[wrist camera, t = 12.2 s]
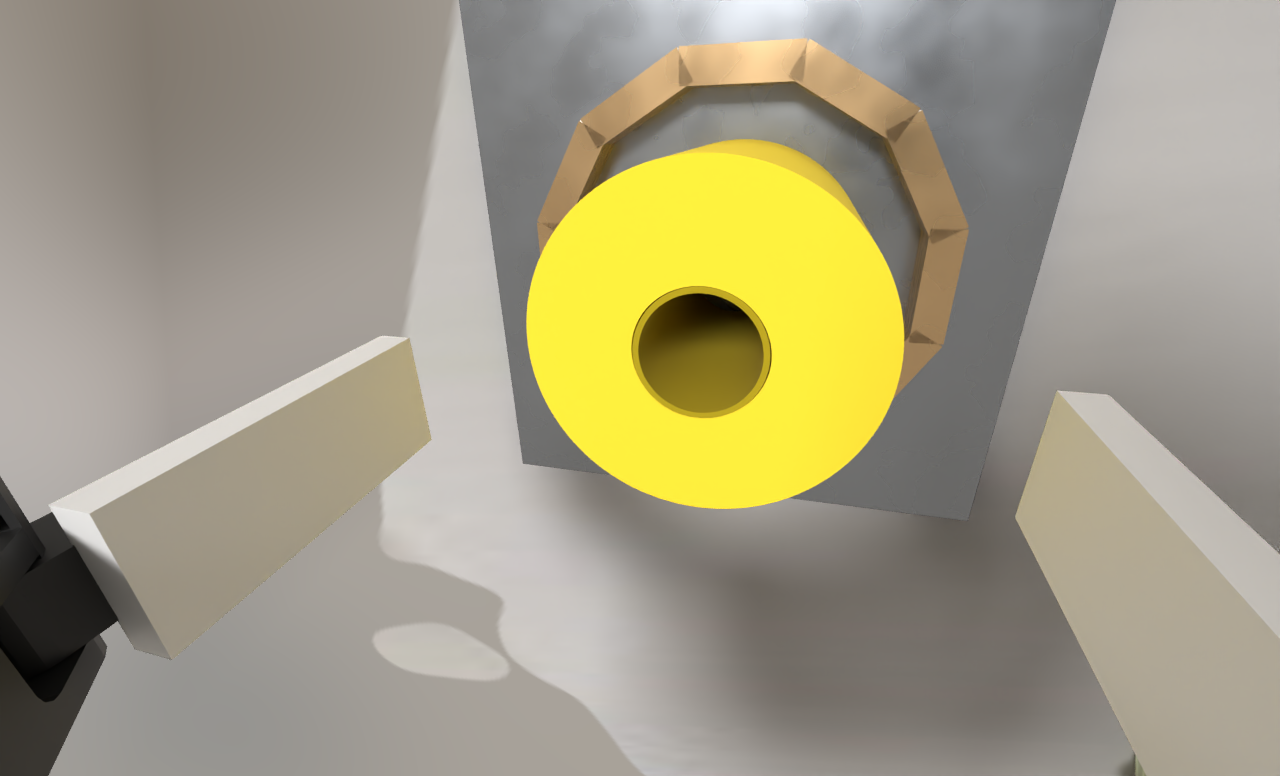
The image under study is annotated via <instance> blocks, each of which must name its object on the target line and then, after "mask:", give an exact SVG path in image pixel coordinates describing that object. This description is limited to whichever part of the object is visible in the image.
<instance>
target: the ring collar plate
mask: <svg viewBox="0 0 1280 776" xmlns="http://www.w3.org/2000/svg"><path fill="white" fill-rule="evenodd" d="M1115 2H1116V0H459V4H460V11H461V18H462V26H463V33H464V40H465V47H466V55H467V62H468V69H469V76H470V83H471V91H472V98H473V105H474V112H475V120H476V127H477V134H478V141H479V148H480V156H481V163H482V170H483V177H484V185H485V192H486V199H487V206H488V214H489V221H490V228H491V235H492V242H493V250H494V257H495V264H496V271H497V279H498V286H499V293H500V300H501V307H502V315H503V322H504V329H505V336H506V344H507V351H508V358H509V365H510V373H511V380H512V387H513V394H514V401H515V409H516V416H517V423H518V430H519V438H520V445H521V452H522V459H523V464H530V465H538V466H546V467H554V468H561V469H569V470H577V471H585V472H592V473H600V474H608V475H611V474H610V473H608V472H607V471H605V470H604V469H603V468H601V467H600V466H599V465H597V464H596V463H595V462H594V461H593V460H591V459H590V458H589V457H588V456H587V455H586V454H585V453H584V452H583V451H582V450H581V449H580V448H579V447H578V446H577V445H576V444H575V443H574V442H573V441H572V440H571V439H570V437H569V436H568V435H567V434H566V432H565V431H564V430H563V429H562V427H561V426H560V424H559V423H558V422H557V420H556V419H555V417H554V415H553V414H552V412H551V410H550V409H549V407H548V405H547V403H546V401H545V399H544V397H543V395H542V393H541V390H540V388H539V385H538V383H537V380H536V377H535V374H534V371H533V367H532V363H531V359H530V354H529V348H528V341H527V323H526V321H527V304H528V297H529V291H530V286H531V282H532V278H533V275H534V272H535V269H536V266H537V263H538V261H539V258H540V256H541V254H542V252H543V250H544V248H545V246H546V244H547V242H548V240H549V238H550V237H551V235H552V234H553V232H554V231H555V229H556V228H557V226H558V225H559V224H560V222H561V221H562V220H563V218H564V217H565V216H566V215H567V214H568V213H569V211H570V210H571V209H572V208H573V207H574V206H575V205H576V204H577V203H578V202H579V201H580V200H581V199H583V198H584V197H585V196H586V195H587V194H588V193H590V192H591V191H592V190H594V189H595V188H596V187H598V186H599V185H601V184H602V183H604V182H605V181H607V180H608V179H610V178H612V177H614V176H615V175H617V174H619V173H621V172H623V171H625V170H627V169H630V168H632V167H634V166H637V165H639V164H642V163H645V162H648V161H652V160H655V159H659V158H662V157H666V156H669V155H673V154H676V153H680V152H684V151H687V150H691V149H694V148H698V147H702V146H705V145H709V144H712V143H716V142H721V141H727V140H735V139H754V140H763V141H769V142H774V143H777V144H781V145H784V146H787V147H790V148H792V149H794V150H797V151H799V152H801V153H803V154H804V155H806V156H808V157H810V158H811V159H813V160H814V161H816V162H817V163H818V164H820V165H821V166H822V167H823V168H824V169H826V170H827V171H828V172H829V173H830V174H831V175H832V176H833V177H834V178H835V179H836V181H837V182H838V183H839V184H840V185H841V187H842V188H843V189H844V191H845V192H846V194H847V195H848V197H849V199H850V200H851V202H852V204H853V206H854V207H855V209H856V211H857V212H858V214H859V216H860V217H861V219H862V221H863V223H864V224H865V226H866V228H867V229H868V231H869V233H870V234H871V236H872V238H873V240H874V241H875V243H876V245H877V246H878V248H879V250H880V252H881V253H882V255H883V257H884V259H885V261H886V263H887V265H888V267H889V269H890V272H891V274H892V277H893V279H894V282H895V285H896V288H897V292H898V295H899V299H900V304H901V309H902V315H903V324H904V354H903V362H902V368H901V373H900V378H899V382H898V385H897V389H896V392H895V395H894V397H893V400H892V402H891V405H890V407H889V409H888V411H887V413H886V415H885V417H884V419H883V421H882V422H881V424H880V426H879V427H878V429H877V430H876V432H875V433H874V435H873V436H872V437H871V439H870V440H869V441H868V443H867V444H866V445H865V446H864V447H863V448H862V450H861V451H860V452H859V453H858V454H857V455H856V456H855V457H854V458H853V459H852V460H851V461H850V462H848V463H847V464H846V465H845V466H844V467H843V468H841V469H840V470H839V471H838V472H836V473H835V474H833V475H832V476H831V477H829V478H828V479H826V480H824V481H823V482H821V483H819V484H818V485H816V486H814V487H812V488H810V489H808V490H806V491H804V492H802V493H799V494H797V495H795V496H792V497H789V498H793V499H801V500H809V501H816V502H824V503H832V504H840V505H847V506H855V507H863V508H871V509H878V510H886V511H894V512H901V513H909V514H917V515H925V516H932V517H940V518H948V519H956V520H963V521H968V518H969V515H970V511H971V508H972V504H973V501H974V497H975V494H976V490H977V487H978V483H979V480H980V476H981V473H982V469H983V466H984V462H985V459H986V455H987V452H988V448H989V445H990V441H991V438H992V434H993V431H994V427H995V424H996V420H997V416H998V413H999V409H1000V406H1001V402H1002V399H1003V395H1004V392H1005V388H1006V385H1007V381H1008V378H1009V374H1010V371H1011V367H1012V364H1013V360H1014V357H1015V353H1016V350H1017V346H1018V343H1019V339H1020V336H1021V332H1022V329H1023V325H1024V322H1025V318H1026V315H1027V311H1028V308H1029V304H1030V301H1031V297H1032V294H1033V290H1034V287H1035V283H1036V280H1037V276H1038V273H1039V269H1040V265H1041V262H1042V258H1043V255H1044V251H1045V248H1046V244H1047V241H1048V237H1049V234H1050V230H1051V227H1052V223H1053V220H1054V216H1055V213H1056V209H1057V206H1058V202H1059V199H1060V195H1061V192H1062V188H1063V185H1064V181H1065V178H1066V174H1067V171H1068V167H1069V164H1070V160H1071V157H1072V153H1073V150H1074V146H1075V143H1076V139H1077V136H1078V132H1079V129H1080V125H1081V122H1082V118H1083V115H1084V111H1085V107H1086V104H1087V100H1088V97H1089V93H1090V90H1091V86H1092V83H1093V79H1094V76H1095V72H1096V69H1097V65H1098V62H1099V58H1100V55H1101V51H1102V48H1103V44H1104V41H1105V37H1106V34H1107V30H1108V27H1109V23H1110V20H1111V16H1112V13H1113V9H1114V6H1115ZM702 294H703V295H704V296H705V298H706V299H707V300H708V301H709V302H711V303H712V304H713V305H715V306H717V307H719V308H721V309H724V310H728V311H743V310H742V309H741V308H739V307H738V306H737V305H735V304H734V303H732V302H730V301H728V300H726V299H724V298H722V297H719V296H715V295H711V294H704V293H702Z"/></svg>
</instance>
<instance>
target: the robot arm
mask: <svg viewBox="0 0 1280 776" xmlns="http://www.w3.org/2000/svg"><path fill="white" fill-rule="evenodd" d="M430 440H431V435H430V431H429V426H428V421H427V417H426V412H425V408H424V403H423V399H422V394H421V389H420V385H419V380H418V376H417V371H416V367H415V362H414V357H413V353H412V348H411V344H410V339H409V338H404V337H391V336H380V337H378V338H376V339H374V340H372V341H370V342H368V343H366V344H364V345H362V346H360V347H358V348H357V349H354V350H352V351H351V352H349V353H347V354H345V355H343V356H341V357H339V358H337V359H335V360H333V361H331V362H329V363H327V364H325V365H323V366H321V367H319V368H317V369H315V370H313V371H311V372H309V373H307V374H305V375H303V376H301V377H299V378H298V379H295V380H293V381H291V382H289V383H287V384H285V385H284V386H282V387H280V388H278V389H276V390H274V391H272V392H270V393H268V394H266V395H264V396H262V397H260V398H258V399H256V400H254V401H252V402H250V403H248V404H246V405H244V406H242V407H241V408H238V409H236V410H234V411H233V412H230V413H228V414H226V415H225V416H223V417H221V418H219V419H217V420H215V421H213V422H211V423H209V424H207V425H205V426H203V427H201V428H199V429H197V430H195V431H193V432H191V433H189V434H187V435H185V436H183V437H181V438H179V439H177V440H175V441H173V442H171V443H169V444H167V445H166V446H164V447H162V448H160V449H158V450H156V451H154V452H152V453H150V454H148V455H146V456H144V457H142V458H140V459H138V460H136V461H134V462H132V463H130V464H128V465H126V466H124V467H122V468H120V469H118V470H116V471H114V472H112V473H110V474H109V475H107V476H105V477H103V478H101V479H99V480H97V481H95V482H93V483H91V484H89V485H87V486H85V487H83V488H81V489H79V490H77V491H75V492H73V493H71V494H69V495H67V496H65V497H63V498H61V499H59V500H58V501H55V502H54V503H52V504H49V507H50V508H51V510H52V512H51V513H49V514H47V515H46V516H44V517H42V518H40V519H37V520H35V521H34V522H31V523H29V521H28V520H27V518H26V517H25V515H24V513H23V512H22V510H21V509H20V507H19V506H18V504H17V502H16V501H15V499H14V498H13V496H12V495H11V493H10V491H9V490H8V488H7V486H6V485H5V483H4V482H3V480H2V478H1V477H0V776H48V775H49V773H50V771H51V769H52V767H53V765H54V763H55V761H56V758H57V756H58V754H59V752H60V750H61V748H62V746H63V744H64V742H65V740H66V738H67V736H68V733H69V731H70V729H71V727H72V725H73V723H74V721H75V719H76V717H77V714H78V713H79V711H80V708H81V706H82V704H83V702H84V700H85V698H86V696H87V694H88V692H89V690H90V688H91V685H92V683H93V681H94V679H95V677H96V675H97V673H98V671H99V669H100V666H101V665H102V663H103V661H104V658H105V655H106V649H107V646H106V644H105V642H104V641H103V639H102V638H101V636H100V633H102V632H103V631H104V630H106V629H107V628H109V627H110V626H111V625H112V624H114V623H115V622H117V621H118V622H119V624H120V625H121V627H122V629H123V630H124V632H125V634H126V635H127V637H128V639H129V640H130V642H131V644H132V645H133V647H134V649H136V650H139V651H143V652H146V653H149V654H153V655H157V656H160V657H164V658H167V659H171V660H172V659H174V658H175V657H176V656H177V655H178V654H180V653H181V652H182V651H183V650H184V649H185V648H187V647H188V646H189V645H190V644H191V643H192V642H194V641H195V640H196V639H197V638H198V637H199V636H201V635H202V634H203V633H204V632H205V631H207V630H208V629H209V628H210V627H211V626H213V625H214V624H215V623H216V622H217V621H218V620H219V619H221V618H222V617H223V616H224V615H225V614H227V613H228V612H229V611H230V610H231V609H232V608H234V607H235V606H236V605H237V604H238V603H240V602H241V601H242V600H243V599H244V598H245V597H247V596H248V595H249V594H250V593H251V592H253V591H254V590H255V589H256V588H257V587H258V586H260V585H261V584H262V583H263V582H264V581H266V580H267V579H268V578H269V577H270V576H271V575H273V574H274V573H275V572H276V571H277V570H278V569H280V568H281V567H282V566H283V565H284V564H285V563H287V562H288V561H289V560H290V559H291V558H293V557H294V556H295V555H296V554H297V553H298V552H299V551H301V550H302V549H303V548H304V547H306V546H307V545H308V544H309V543H310V542H311V541H313V540H314V539H315V538H316V537H317V536H319V534H321V533H322V532H323V531H324V530H325V529H327V528H328V527H329V526H330V525H332V524H333V523H334V522H335V521H336V520H337V519H339V518H340V517H341V516H342V515H343V514H344V513H346V512H347V511H348V510H349V509H350V508H351V507H353V506H354V505H355V504H356V503H357V502H358V501H360V500H361V499H362V498H363V497H365V496H366V495H367V494H368V493H369V492H370V491H372V490H373V489H374V488H375V487H376V486H377V485H379V484H380V483H381V482H382V481H383V480H385V479H386V478H387V477H388V476H389V475H390V474H392V473H393V472H394V471H395V470H396V469H397V468H399V467H400V466H401V465H402V464H403V463H405V462H406V461H407V460H408V459H409V458H410V457H412V456H413V455H414V454H415V453H416V452H418V451H419V450H420V449H421V448H422V447H423V446H425V445H426V444H427V443H428V442H429V441H430ZM1015 519H1016V520H1017V522H1018V524H1019V526H1020V528H1021V530H1022V532H1023V534H1024V536H1025V538H1026V540H1027V542H1028V544H1029V546H1030V548H1031V550H1032V552H1033V554H1034V556H1035V558H1036V560H1037V562H1038V564H1039V566H1040V568H1041V570H1042V572H1043V574H1044V576H1045V578H1046V580H1047V581H1048V583H1049V585H1050V587H1051V589H1052V591H1053V593H1054V595H1055V597H1056V599H1057V601H1058V603H1059V605H1060V607H1061V609H1062V611H1063V613H1064V615H1065V617H1066V619H1067V621H1068V623H1069V625H1070V627H1071V629H1072V631H1073V633H1074V635H1075V637H1076V639H1077V641H1078V642H1079V644H1080V646H1081V648H1082V650H1083V652H1084V654H1085V656H1086V658H1087V660H1088V662H1089V664H1090V666H1091V668H1092V670H1093V672H1094V674H1095V676H1096V678H1097V680H1098V682H1099V684H1100V686H1101V688H1102V690H1103V692H1104V694H1105V696H1106V698H1107V700H1108V702H1109V703H1110V705H1111V707H1112V709H1113V711H1114V713H1115V715H1116V717H1117V719H1118V721H1119V723H1120V725H1121V727H1122V729H1123V731H1124V733H1125V735H1126V737H1127V739H1128V741H1129V743H1130V745H1131V747H1132V749H1133V751H1134V753H1135V755H1136V757H1137V759H1138V761H1139V763H1140V764H1141V766H1142V768H1143V770H1144V772H1145V774H1146V776H1280V554H1279V553H1278V552H1277V551H1276V550H1274V549H1273V548H1272V547H1271V546H1270V545H1269V544H1268V543H1267V542H1266V541H1265V540H1264V539H1263V538H1262V537H1261V536H1259V535H1258V534H1257V533H1256V532H1255V531H1254V530H1253V529H1252V528H1251V527H1250V526H1249V525H1248V524H1247V523H1246V522H1244V521H1243V520H1242V519H1241V518H1240V517H1239V516H1238V515H1237V514H1236V513H1235V512H1234V511H1233V510H1232V509H1231V508H1230V507H1228V506H1227V505H1226V504H1225V503H1224V502H1223V501H1222V500H1221V499H1220V498H1219V497H1218V496H1217V495H1216V494H1215V493H1213V492H1212V491H1211V490H1210V489H1209V488H1208V487H1207V486H1206V485H1205V484H1204V483H1203V482H1202V481H1201V480H1200V479H1198V478H1197V477H1196V476H1195V475H1194V474H1193V473H1192V472H1191V471H1190V470H1189V469H1188V468H1187V467H1186V466H1185V465H1183V464H1182V463H1181V462H1180V461H1179V460H1178V459H1177V458H1176V457H1175V456H1174V455H1173V454H1172V453H1171V452H1170V451H1168V450H1167V449H1166V448H1165V447H1164V446H1163V445H1162V444H1161V443H1160V442H1159V441H1158V440H1157V439H1156V438H1155V437H1153V436H1152V435H1151V434H1150V433H1149V432H1148V431H1147V430H1146V429H1145V428H1144V427H1143V426H1142V425H1141V424H1140V423H1138V422H1137V421H1136V420H1135V419H1134V418H1133V417H1132V416H1131V415H1130V414H1129V413H1128V412H1127V411H1126V410H1125V409H1123V408H1122V407H1121V406H1120V405H1119V404H1118V403H1117V402H1116V401H1115V400H1114V399H1113V398H1112V397H1111V396H1110V395H1107V394H1094V393H1082V392H1070V391H1057V392H1056V395H1055V398H1054V401H1053V404H1052V407H1051V410H1050V413H1049V416H1048V419H1047V422H1046V425H1045V428H1044V431H1043V434H1042V437H1041V440H1040V443H1039V446H1038V449H1037V452H1036V455H1035V458H1034V461H1033V464H1032V467H1031V470H1030V473H1029V476H1028V479H1027V483H1026V486H1025V489H1024V492H1023V495H1022V498H1021V501H1020V504H1019V507H1018V510H1017V513H1016V516H1015Z"/></svg>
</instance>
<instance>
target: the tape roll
mask: <svg viewBox="0 0 1280 776" xmlns="http://www.w3.org/2000/svg"><path fill="white" fill-rule="evenodd" d="M702 293H704V294H711V295H715V296H719V297H722V298H724V299H726V300H728V301H730V302H732V303H734V304H735V305H737V306H738V307H739V308H741V309H742V310H743V311H728V310H724V309H721V308H719V307H717V306H715V305H713V304H712V303H711V302H709V301H708V300H707V299H706V298H705V296H704V295H703V294H702ZM526 323H527V341H528V348H529V354H530V359H531V363H532V367H533V371H534V374H535V377H536V380H537V383H538V385H539V388H540V390H541V393H542V395H543V397H544V399H545V401H546V403H547V405H548V407H549V409H550V410H551V412H552V414H553V415H554V417H555V419H556V420H557V422H558V423H559V424H560V426H561V427H562V429H563V430H564V431H565V432H566V434H567V435H568V436H569V437H570V439H571V440H572V441H573V442H574V443H575V444H576V445H577V446H578V447H579V448H580V449H581V450H582V451H583V452H584V453H585V454H586V455H587V456H588V457H589V458H590V459H591V460H593V461H594V462H595V463H596V464H597V465H599V466H600V467H601V468H603V469H604V470H605V471H607V472H608V473H610V474H611V475H613V476H614V477H616V478H617V479H619V480H621V481H622V482H624V483H626V484H628V485H630V486H632V487H634V488H636V489H638V490H640V491H642V492H644V493H647V494H649V495H652V496H655V497H657V498H660V499H664V500H667V501H670V502H674V503H678V504H683V505H688V506H694V507H702V508H714V509H733V508H746V507H754V506H759V505H765V504H769V503H773V502H777V501H780V500H783V499H786V498H789V497H792V496H795V495H797V494H799V493H802V492H804V491H806V490H808V489H810V488H812V487H814V486H816V485H818V484H819V483H821V482H823V481H824V480H826V479H828V478H829V477H831V476H832V475H833V474H835V473H836V472H838V471H839V470H840V469H841V468H843V467H844V466H845V465H846V464H847V463H848V462H850V461H851V460H852V459H853V458H854V457H855V456H856V455H857V454H858V453H859V452H860V451H861V450H862V448H863V447H864V446H865V445H866V444H867V443H868V441H869V440H870V439H871V437H872V436H873V435H874V433H875V432H876V430H877V429H878V427H879V426H880V424H881V422H882V421H883V419H884V417H885V415H886V413H887V411H888V409H889V407H890V405H891V402H892V400H893V397H894V395H895V392H896V389H897V385H898V382H899V378H900V373H901V368H902V362H903V354H904V324H903V315H902V309H901V304H900V299H899V295H898V292H897V288H896V285H895V282H894V279H893V277H892V274H891V272H890V269H889V267H888V265H887V263H886V261H885V259H884V257H883V255H882V253H881V252H880V250H879V248H878V246H877V245H876V243H875V241H874V240H873V238H872V236H871V234H870V233H869V231H868V229H867V228H866V226H865V224H864V223H863V221H862V219H861V217H860V216H859V214H858V212H857V211H856V209H855V207H854V206H853V204H852V202H851V200H850V199H849V197H848V195H847V194H846V192H845V191H844V189H843V188H842V187H841V185H840V184H839V183H838V182H837V181H836V179H835V178H834V177H833V176H832V175H831V174H830V173H829V172H828V171H827V170H826V169H824V168H823V167H822V166H821V165H820V164H818V163H817V162H816V161H814V160H813V159H811V158H810V157H808V156H806V155H804V154H803V153H801V152H799V151H797V150H794V149H792V148H790V147H787V146H784V145H781V144H777V143H774V142H769V141H763V140H754V139H735V140H727V141H721V142H716V143H712V144H709V145H705V146H702V147H698V148H694V149H691V150H687V151H684V152H680V153H676V154H673V155H669V156H666V157H662V158H659V159H655V160H652V161H648V162H645V163H642V164H639V165H637V166H634V167H632V168H630V169H627V170H625V171H623V172H621V173H619V174H617V175H615V176H614V177H612V178H610V179H608V180H607V181H605V182H604V183H602V184H601V185H599V186H598V187H596V188H595V189H594V190H592V191H591V192H590V193H588V194H587V195H586V196H585V197H584V198H583V199H581V200H580V201H579V202H578V203H577V204H576V205H575V206H574V207H573V208H572V209H571V210H570V211H569V213H568V214H567V215H566V216H565V217H564V218H563V220H562V221H561V222H560V224H559V225H558V226H557V228H556V229H555V231H554V232H553V234H552V235H551V237H550V238H549V240H548V242H547V244H546V246H545V248H544V250H543V252H542V254H541V256H540V258H539V261H538V263H537V266H536V269H535V272H534V275H533V278H532V282H531V286H530V291H529V297H528V304H527V321H526Z"/></svg>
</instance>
